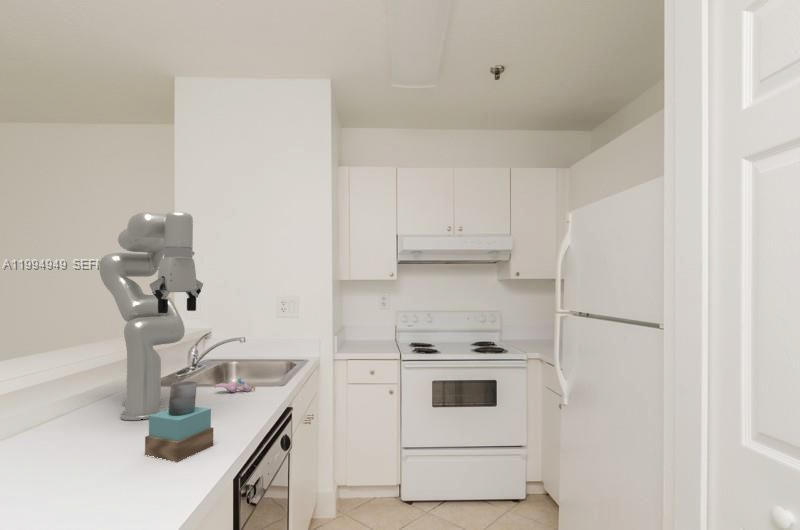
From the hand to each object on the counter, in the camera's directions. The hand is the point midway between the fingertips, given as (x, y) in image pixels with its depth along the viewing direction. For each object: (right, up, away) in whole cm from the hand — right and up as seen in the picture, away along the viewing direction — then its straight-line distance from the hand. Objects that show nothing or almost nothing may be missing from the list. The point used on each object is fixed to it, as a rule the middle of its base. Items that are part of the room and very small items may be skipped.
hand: (177, 311), depth 125 cm
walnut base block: (+9, -34, -17) cm, 39 cm away
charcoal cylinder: (+10, -24, -16) cm, 30 cm away
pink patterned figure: (+1, -36, +40) cm, 54 cm away
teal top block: (+9, -29, -16) cm, 35 cm away
